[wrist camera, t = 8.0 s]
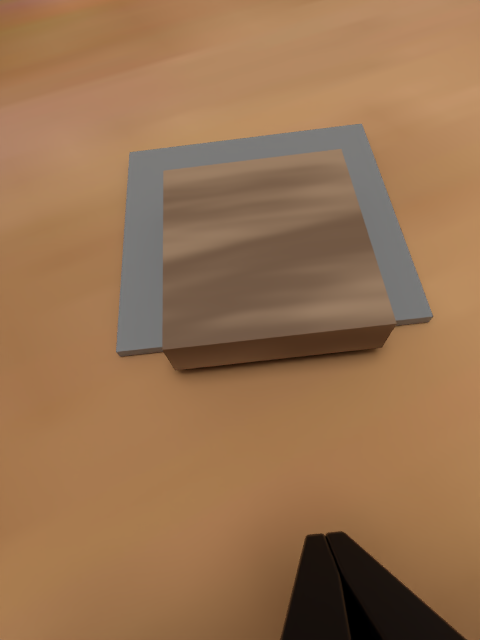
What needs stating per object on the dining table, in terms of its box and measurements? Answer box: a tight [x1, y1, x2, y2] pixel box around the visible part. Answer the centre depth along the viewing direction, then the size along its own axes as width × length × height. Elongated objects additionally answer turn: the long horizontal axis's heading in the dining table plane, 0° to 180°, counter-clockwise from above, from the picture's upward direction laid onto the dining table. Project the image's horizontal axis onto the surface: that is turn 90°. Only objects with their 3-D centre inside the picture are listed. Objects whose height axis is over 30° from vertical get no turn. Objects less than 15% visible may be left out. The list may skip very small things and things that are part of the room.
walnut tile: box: [162, 149, 397, 370], centre depth 20 cm, size 3×10×11 cm
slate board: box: [116, 124, 433, 356], centre depth 23 cm, size 15×16×1 cm
